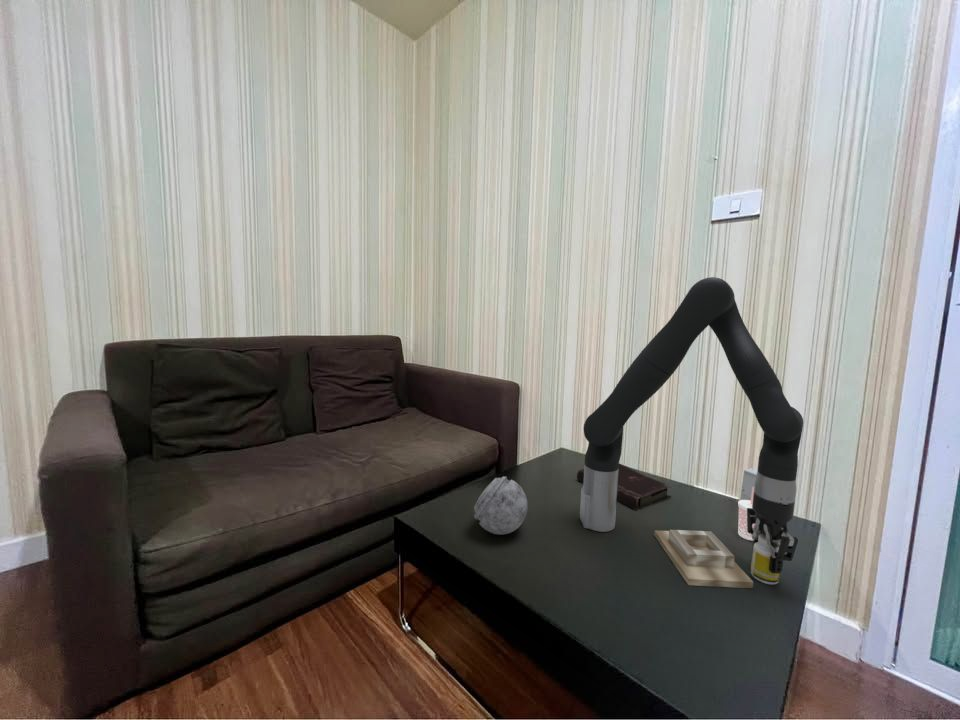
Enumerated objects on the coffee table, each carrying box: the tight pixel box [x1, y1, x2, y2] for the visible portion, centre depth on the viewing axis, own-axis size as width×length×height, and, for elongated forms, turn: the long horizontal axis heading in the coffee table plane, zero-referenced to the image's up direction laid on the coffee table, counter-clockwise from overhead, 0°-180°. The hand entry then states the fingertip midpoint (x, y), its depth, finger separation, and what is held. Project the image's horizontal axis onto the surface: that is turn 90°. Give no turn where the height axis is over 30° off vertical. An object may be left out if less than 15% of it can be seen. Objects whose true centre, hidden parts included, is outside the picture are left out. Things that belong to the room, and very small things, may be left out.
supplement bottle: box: [750, 534, 781, 586], centre depth 93 cm, size 5×5×10 cm
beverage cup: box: [737, 487, 755, 541], centre depth 110 cm, size 6×6×14 cm
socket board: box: [653, 529, 754, 589], centre depth 100 cm, size 14×20×4 cm
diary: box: [576, 463, 673, 511], centre depth 139 cm, size 19×25×5 cm
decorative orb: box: [473, 476, 529, 536], centre depth 110 cm, size 15×14×15 cm
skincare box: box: [739, 467, 758, 500], centre depth 126 cm, size 6×4×12 cm
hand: (766, 563), depth 93 cm, fingers closed on supplement bottle, 5 cm apart
